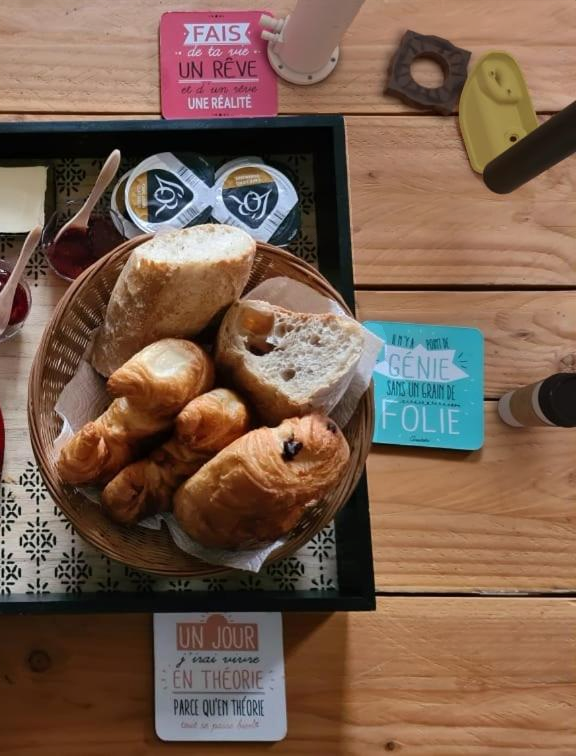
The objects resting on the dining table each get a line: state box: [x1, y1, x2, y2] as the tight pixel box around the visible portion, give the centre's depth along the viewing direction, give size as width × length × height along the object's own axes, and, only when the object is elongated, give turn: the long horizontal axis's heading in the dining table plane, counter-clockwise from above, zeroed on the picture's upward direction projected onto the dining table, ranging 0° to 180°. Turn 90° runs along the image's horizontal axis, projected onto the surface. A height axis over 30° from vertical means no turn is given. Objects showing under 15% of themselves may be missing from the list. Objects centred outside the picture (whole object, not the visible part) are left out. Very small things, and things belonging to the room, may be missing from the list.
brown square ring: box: [382, 29, 473, 117], centre depth 130 cm, size 13×13×2 cm
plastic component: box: [458, 49, 540, 174], centre depth 128 cm, size 20×7×10 cm
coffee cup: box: [497, 371, 576, 429], centre depth 115 cm, size 8×8×15 cm
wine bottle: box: [482, 99, 576, 195], centre depth 99 cm, size 6×6×30 cm
